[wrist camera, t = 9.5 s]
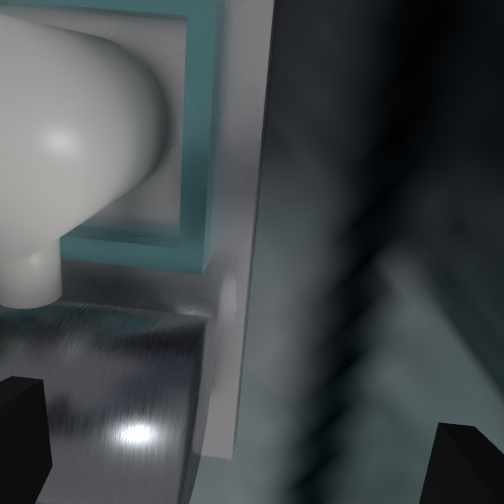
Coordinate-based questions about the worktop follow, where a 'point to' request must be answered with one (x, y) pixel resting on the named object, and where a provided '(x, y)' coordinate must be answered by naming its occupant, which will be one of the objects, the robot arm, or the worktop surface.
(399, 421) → the worktop surface
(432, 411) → the worktop surface
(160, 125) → the grey rounded piece
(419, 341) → the worktop surface
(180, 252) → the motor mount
